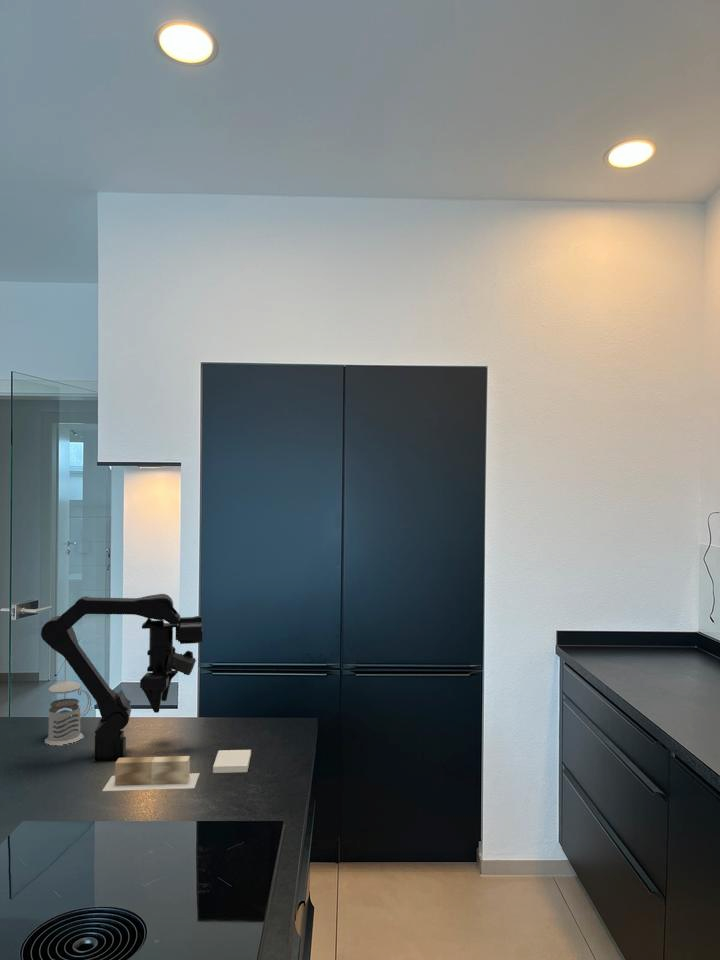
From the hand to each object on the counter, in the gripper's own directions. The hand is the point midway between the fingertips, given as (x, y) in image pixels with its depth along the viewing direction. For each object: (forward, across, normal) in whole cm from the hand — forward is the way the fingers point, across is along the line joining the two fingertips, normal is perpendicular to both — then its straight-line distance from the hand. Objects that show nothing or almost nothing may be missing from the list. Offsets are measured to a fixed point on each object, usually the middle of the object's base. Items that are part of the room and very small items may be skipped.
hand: (160, 706), depth 172 cm
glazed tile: (+11, -9, -15) cm, 21 cm away
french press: (+12, +13, +27) cm, 32 cm away
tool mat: (+12, -18, -2) cm, 22 cm away
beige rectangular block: (+11, -18, -2) cm, 21 cm away
